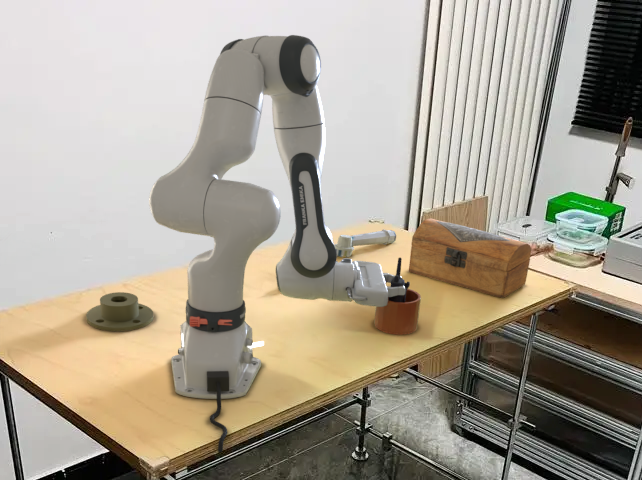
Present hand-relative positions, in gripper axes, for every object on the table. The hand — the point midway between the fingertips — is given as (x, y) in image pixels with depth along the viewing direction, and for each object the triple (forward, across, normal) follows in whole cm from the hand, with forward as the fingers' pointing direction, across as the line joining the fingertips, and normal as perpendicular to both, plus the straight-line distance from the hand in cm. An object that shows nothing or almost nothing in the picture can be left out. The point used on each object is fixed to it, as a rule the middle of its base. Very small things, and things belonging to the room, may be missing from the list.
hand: (403, 285), depth 190 cm
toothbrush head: (-4, +56, +10) cm, 57 cm away
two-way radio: (-1, 0, +9) cm, 9 cm away
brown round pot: (-1, 0, +10) cm, 11 cm away
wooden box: (+23, +35, +10) cm, 43 cm away
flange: (-66, -2, +11) cm, 67 cm away
